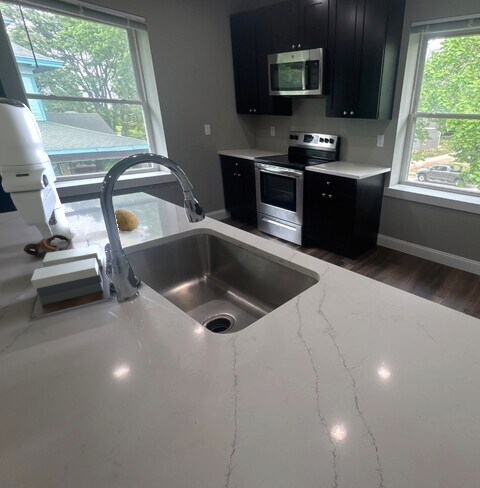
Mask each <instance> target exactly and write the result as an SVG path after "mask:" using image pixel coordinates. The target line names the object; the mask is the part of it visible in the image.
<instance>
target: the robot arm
mask: <svg viewBox="0 0 480 488" xmlns="http://www.w3.org/2000/svg"><path fill="white" fill-rule="evenodd" d="M0 176H1V186H2V188H3V191H4V192H5V193H9V194H10V198H11V200H12V203H13V205H14V206H15V209H16V210H17V212H18V214H19V216H20V218H21V220H22V221H23V222H24V223H25V225H26V226H28V227H35V228H36V229H37V230H38V231H39V232H40V234H41V237H42V239H43V238H51V237H52V236H53V232H52V229H50V226H49V225H56V224H57V219H56V215H55V209H54V207H55V205H56V202H57V198H56V195H55V192H54V190H53V187H52V185H51V183H52V182H53V183H55V182H56V181H57V177H56V174H55V171H54V168H53V165H52V162H51V159H50V158H49V156H48V154H47V153H46V152H45V149H44V139H43V136H42V134H41V131H40V129H39V127H38V124H37V122H36V120H35V117H34V115H33V114H32V112H31V111H30V109H29V108H28V107H27V105H25V104H24V103H23V102H21V101H19V100H17V99H13V98H10V97H4V96H0Z"/></svg>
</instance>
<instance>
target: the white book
mask: <svg viewBox="0 0 480 488" xmlns="http://www.w3.org/2000/svg"><path fill="white" fill-rule="evenodd" d="M97 275H98V264H97V261H96V258H92V259H86V260H81V261H76V262H71V263H65V264H60V265H55V266H50V267H44V266H43V267H40V268H34V271H33V273H32V276H31V279H30V282H31V285H32V287H33V289H34V290H36V289H37V288H41V287H46V286H51V285H55V284H60V283H65V282H69V281H74V280H78V279H83V278H88V277H92V276H97Z"/></svg>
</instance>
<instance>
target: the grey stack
mask: <svg viewBox="0 0 480 488" xmlns="http://www.w3.org/2000/svg"><path fill="white" fill-rule="evenodd" d="M35 290H36V292H37V295H38V294H39V297H38V298H39V300H40V303H41V305H45V304H49V303H53V302H58V301H62V300H66V299H70V298H74V297H78V296H83V295H87V294H91V293H95V292H99V291H103V279H102V276H101V272H100V269H99V266H98V275H97V276H92V277H88V278H83V279H78V280H74V281H69V282H65V283H60V284H55V285H51V286H46V287H41V288H37V289H35Z"/></svg>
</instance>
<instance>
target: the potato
mask: <svg viewBox="0 0 480 488" xmlns="http://www.w3.org/2000/svg"><path fill="white" fill-rule="evenodd" d="M114 212H115V215H116V219H117V224H118V228H119V230H118V231H121V232H133V231H135V230H136V229H137V228H138V226H139V225H140V221H139V217H138V216H137V215H136V213H134V212H132V211H130V210H128V209H121V208H120V209H116V210H115V211H114Z"/></svg>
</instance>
